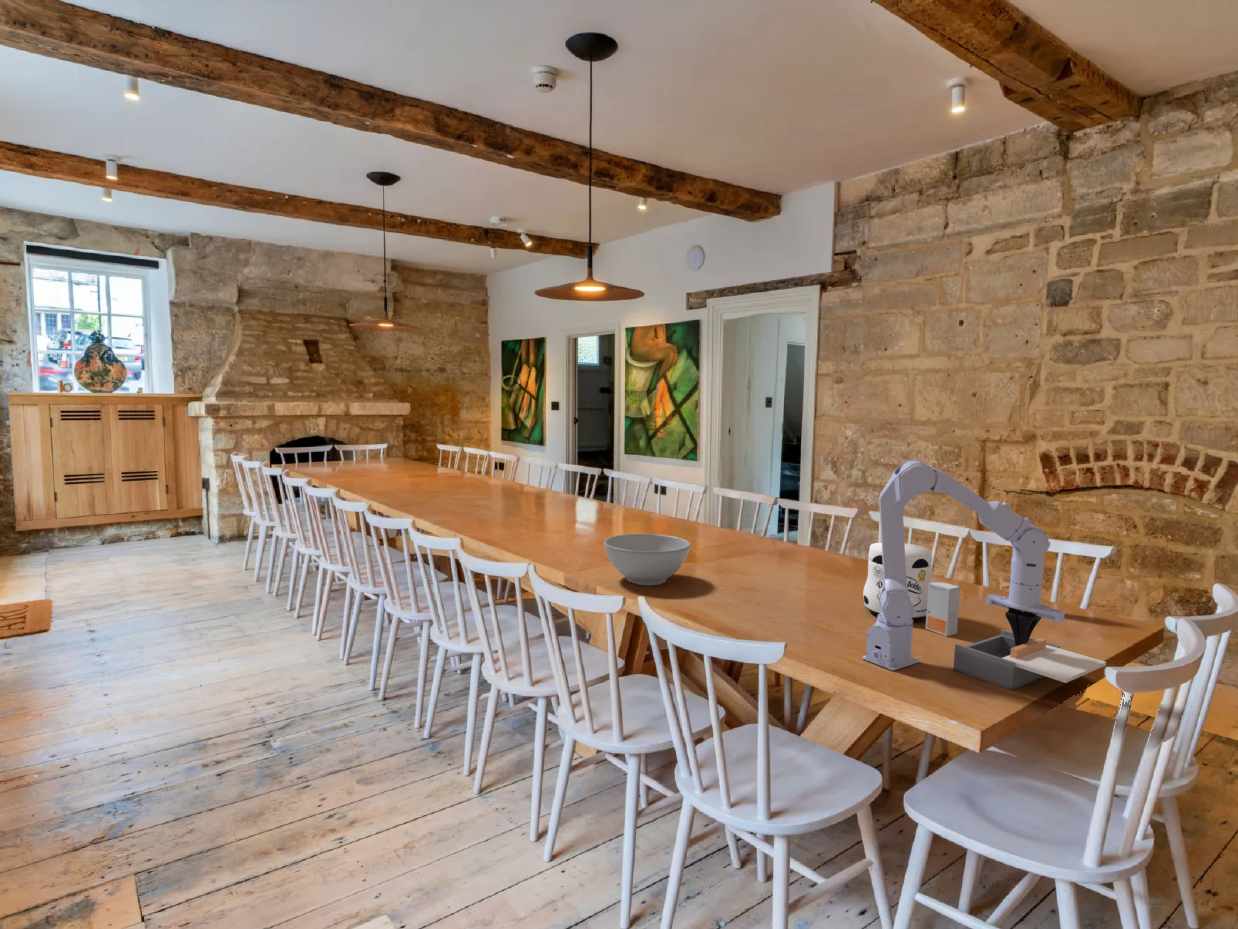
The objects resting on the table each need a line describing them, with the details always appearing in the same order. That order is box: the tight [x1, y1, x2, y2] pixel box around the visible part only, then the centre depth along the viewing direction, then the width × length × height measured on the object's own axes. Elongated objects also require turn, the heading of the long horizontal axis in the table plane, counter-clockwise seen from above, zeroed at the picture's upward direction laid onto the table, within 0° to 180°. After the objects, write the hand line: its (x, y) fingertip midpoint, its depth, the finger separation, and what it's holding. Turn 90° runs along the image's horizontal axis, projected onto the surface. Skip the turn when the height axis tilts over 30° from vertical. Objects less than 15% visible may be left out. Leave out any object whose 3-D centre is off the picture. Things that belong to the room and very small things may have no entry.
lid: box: [1003, 637, 1107, 684], centre depth 136 cm, size 17×12×2 cm
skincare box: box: [925, 580, 961, 637], centre depth 168 cm, size 6×4×12 cm
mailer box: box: [953, 629, 1061, 692], centre depth 144 cm, size 19×12×6 cm, turn 123°
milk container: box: [862, 542, 933, 621], centre depth 181 cm, size 17×17×18 cm
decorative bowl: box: [603, 533, 691, 586], centre depth 211 cm, size 27×27×12 cm
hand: (1021, 646), depth 142 cm, fingers closed
